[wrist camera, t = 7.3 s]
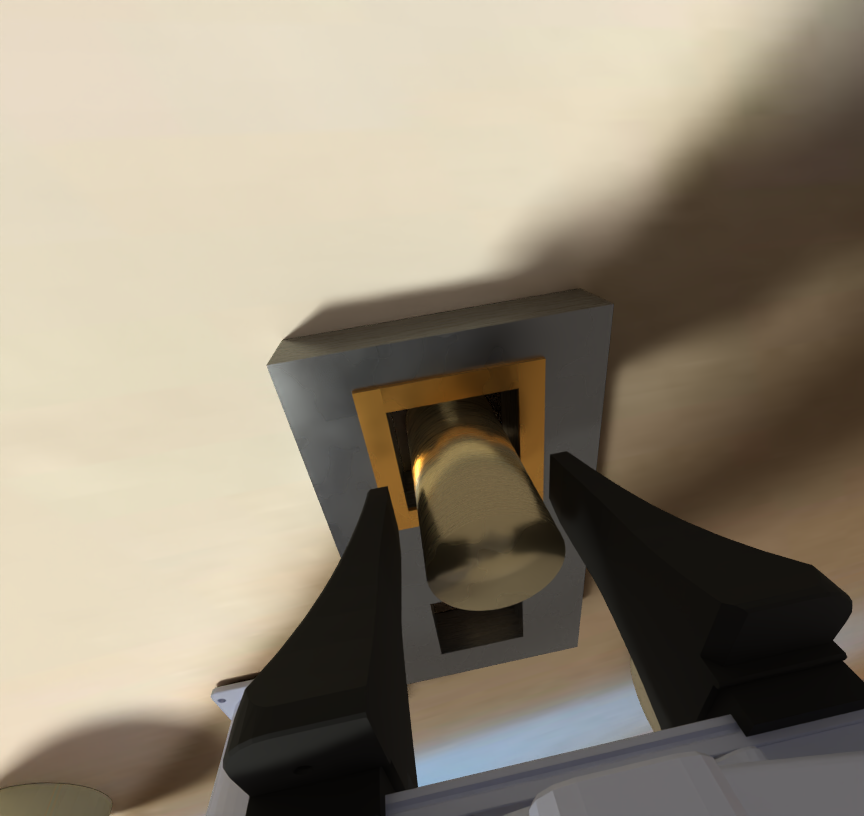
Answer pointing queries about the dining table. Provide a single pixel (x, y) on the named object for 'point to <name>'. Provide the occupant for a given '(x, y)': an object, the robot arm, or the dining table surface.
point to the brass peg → (478, 509)
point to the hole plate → (440, 382)
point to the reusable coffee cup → (53, 801)
